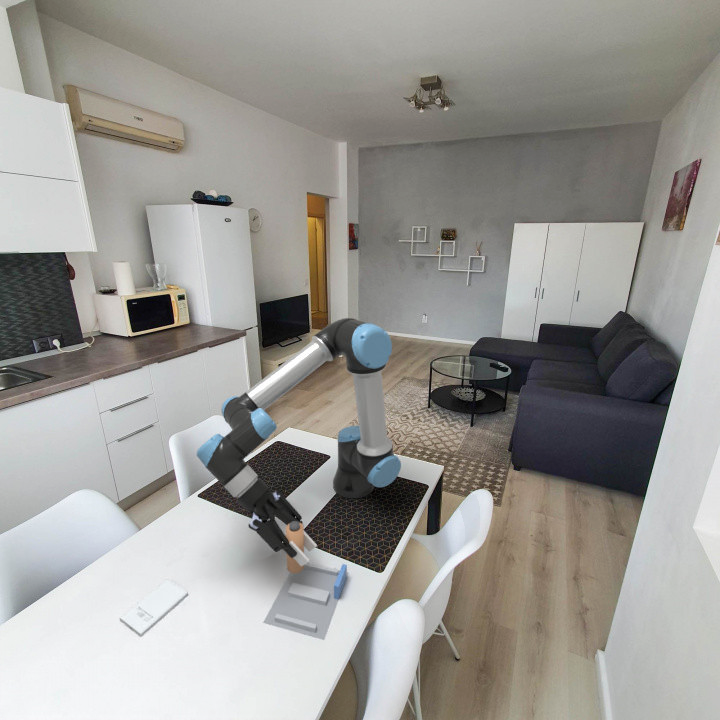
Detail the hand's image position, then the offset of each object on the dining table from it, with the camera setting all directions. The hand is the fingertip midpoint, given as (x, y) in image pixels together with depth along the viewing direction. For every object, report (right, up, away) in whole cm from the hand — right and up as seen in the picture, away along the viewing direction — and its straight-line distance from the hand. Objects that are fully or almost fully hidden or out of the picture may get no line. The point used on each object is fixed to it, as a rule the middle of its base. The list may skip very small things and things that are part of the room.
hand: (309, 555), depth 97 cm
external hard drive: (-37, -12, -3) cm, 39 cm away
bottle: (-4, -4, +2) cm, 6 cm away
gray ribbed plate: (0, -11, -1) cm, 11 cm away
